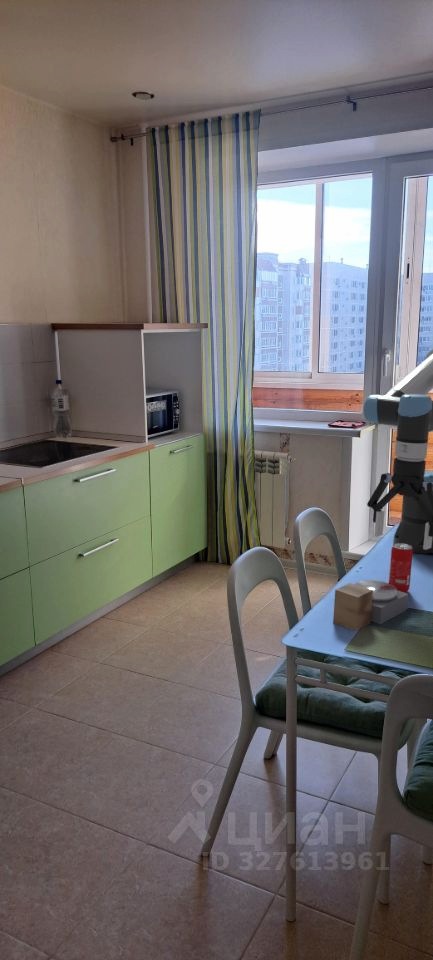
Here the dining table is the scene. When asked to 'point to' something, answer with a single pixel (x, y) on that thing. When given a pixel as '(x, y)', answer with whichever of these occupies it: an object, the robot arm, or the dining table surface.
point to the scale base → (389, 608)
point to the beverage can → (400, 566)
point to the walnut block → (352, 606)
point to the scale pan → (379, 590)
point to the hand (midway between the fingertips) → (402, 542)
